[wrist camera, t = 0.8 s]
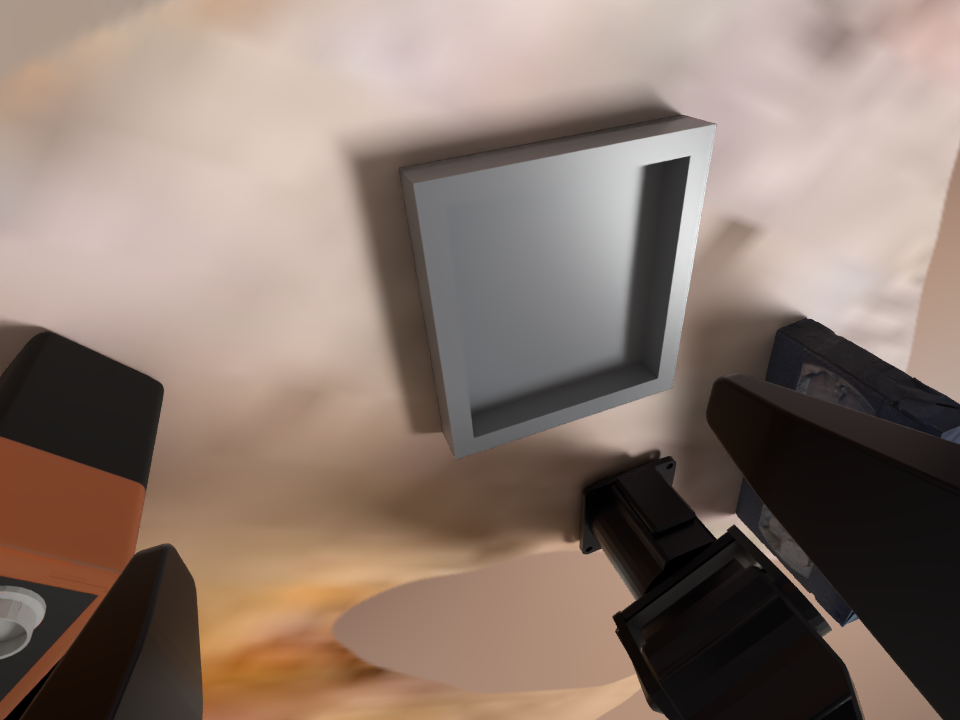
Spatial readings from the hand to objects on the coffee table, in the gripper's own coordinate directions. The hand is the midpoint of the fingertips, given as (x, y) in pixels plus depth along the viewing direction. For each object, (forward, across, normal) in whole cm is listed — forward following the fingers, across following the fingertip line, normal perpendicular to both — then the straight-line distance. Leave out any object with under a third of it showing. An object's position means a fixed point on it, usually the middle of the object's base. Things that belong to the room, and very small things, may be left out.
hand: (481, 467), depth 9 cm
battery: (+14, +12, +6) cm, 19 cm away
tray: (+14, -8, +5) cm, 17 cm away
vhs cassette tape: (+14, -26, +20) cm, 35 cm away
